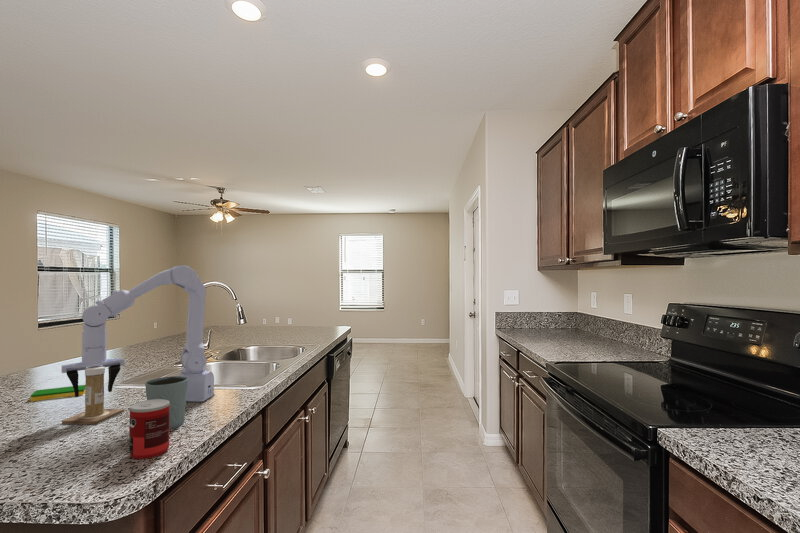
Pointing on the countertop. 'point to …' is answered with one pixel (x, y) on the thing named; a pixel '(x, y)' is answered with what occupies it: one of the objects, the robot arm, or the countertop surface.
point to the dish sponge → (56, 393)
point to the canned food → (149, 428)
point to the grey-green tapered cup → (170, 396)
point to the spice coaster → (94, 419)
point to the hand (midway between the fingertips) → (93, 393)
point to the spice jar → (94, 391)
